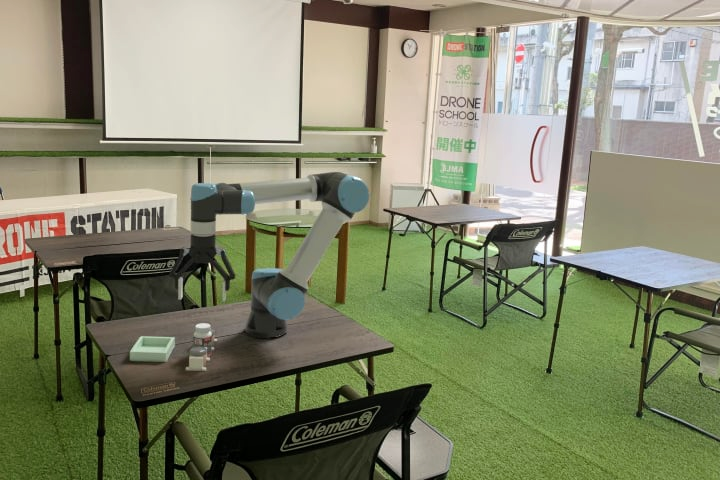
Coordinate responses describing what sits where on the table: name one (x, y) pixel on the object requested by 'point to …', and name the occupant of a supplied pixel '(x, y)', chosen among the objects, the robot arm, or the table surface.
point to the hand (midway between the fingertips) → (202, 299)
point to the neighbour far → (212, 336)
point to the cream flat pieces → (198, 362)
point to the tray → (152, 349)
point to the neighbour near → (199, 353)
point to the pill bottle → (203, 337)
